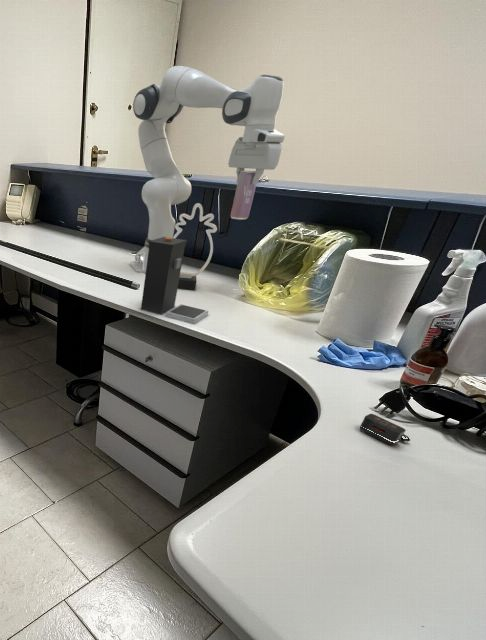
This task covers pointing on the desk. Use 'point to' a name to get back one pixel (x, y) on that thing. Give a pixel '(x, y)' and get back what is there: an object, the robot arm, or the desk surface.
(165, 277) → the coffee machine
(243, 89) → the robot arm
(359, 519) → the desk surface
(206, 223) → the lamp
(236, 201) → the beverage can
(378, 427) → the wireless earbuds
